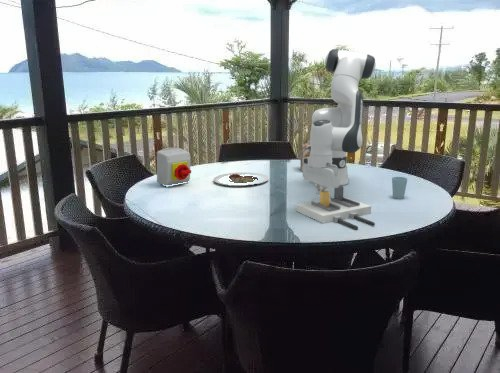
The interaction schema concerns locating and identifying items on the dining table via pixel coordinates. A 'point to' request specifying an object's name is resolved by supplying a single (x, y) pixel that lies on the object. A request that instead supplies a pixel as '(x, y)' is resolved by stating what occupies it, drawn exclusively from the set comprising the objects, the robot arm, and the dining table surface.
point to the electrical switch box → (173, 166)
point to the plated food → (241, 178)
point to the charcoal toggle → (338, 193)
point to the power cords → (352, 216)
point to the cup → (399, 187)
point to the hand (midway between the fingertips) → (320, 194)
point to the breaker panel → (332, 209)
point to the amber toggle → (325, 198)
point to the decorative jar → (304, 152)
